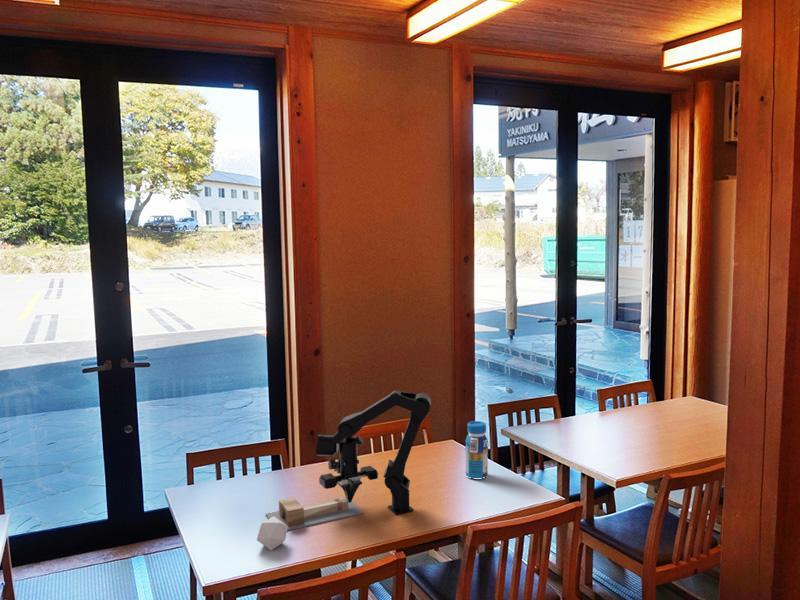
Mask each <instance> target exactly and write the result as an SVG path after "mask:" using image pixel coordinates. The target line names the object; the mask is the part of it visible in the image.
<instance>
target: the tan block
mask: <svg viewBox="0 0 800 600" xmlns="http://www.w3.org/2000/svg"><path fill="white" fill-rule="evenodd" d="M302 506H303V505H302V504H300V502H299V501H298V500H297V499H296V498H295V497H290V498H284V499H280V500H278V509H279V510H278V511H279V516H280V517H281V518H282V519H284V518H286V524H287V526H288V527H290V526H295V525H299V524H304V508H303V507H302Z"/></svg>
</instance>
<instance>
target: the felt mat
mask: <svg viewBox="0 0 800 600" xmlns="http://www.w3.org/2000/svg"><path fill="white" fill-rule="evenodd" d="M344 497H345V498H346V496H344ZM344 497H338V498H337V499H340V498H344ZM335 499H336V498H333V499H332V500H335ZM346 499H347V498H346ZM330 500H331V499H329V500H325V501H323V502H326V501H330ZM321 502H322V501H319V502H318V503H321ZM316 503H317V502H315V503H313V504H316ZM311 504H312V503H310V504H309V503H308V504H306V505H305V504H304V506H307V505H311ZM363 514H364V512H363V510H361V508H359V506H357V505H356V504H355V503H354V502H352V501H351V502H350V503H349V502H348V509H345V510H340V511H336V512H331V513H327V514H322V515H318V516H313V517H309V518H304V524H299V525H295V526H290V527H288V528H287V532H289V531H293V530H297V529H301V528H306V527H311V526H314V525H319V524H324V523H328V522H332V521H337V520H341V519H345V518H350V517H354V516H358V515H359V516H360V515H363ZM265 516H266V517H267V520H268V519H270V518H271V517H273V516H274V517H276V518H277V519H279V520H280V521H281V522H283V523H284V524H285V525H287V524H286V518H284V519H282V518H281V517H280V516H279V510H277V511H271V512H268V513H265Z"/></svg>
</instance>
